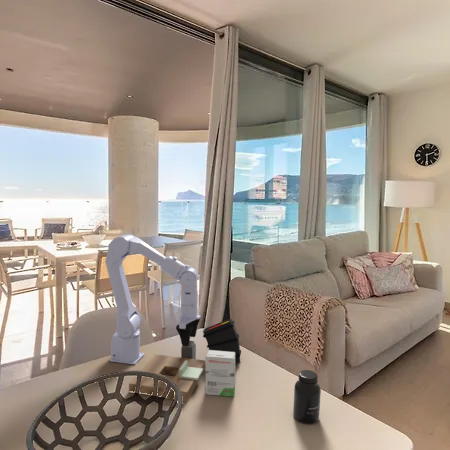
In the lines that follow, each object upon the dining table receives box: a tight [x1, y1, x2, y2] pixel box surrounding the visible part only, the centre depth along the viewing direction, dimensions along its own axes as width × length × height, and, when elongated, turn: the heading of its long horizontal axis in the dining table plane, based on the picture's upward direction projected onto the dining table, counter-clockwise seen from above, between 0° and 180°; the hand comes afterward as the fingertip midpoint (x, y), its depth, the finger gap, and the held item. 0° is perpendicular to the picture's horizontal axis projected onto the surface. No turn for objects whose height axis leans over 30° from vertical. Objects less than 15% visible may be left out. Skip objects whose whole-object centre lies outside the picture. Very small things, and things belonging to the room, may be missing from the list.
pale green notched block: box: [179, 360, 203, 380], centre depth 108 cm, size 6×6×3 cm
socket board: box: [128, 353, 206, 403], centre depth 110 cm, size 18×19×3 cm
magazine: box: [202, 318, 242, 364], centre depth 123 cm, size 4×13×15 cm, turn 81°
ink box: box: [205, 349, 236, 398], centre depth 104 cm, size 9×5×12 cm, turn 82°
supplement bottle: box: [292, 369, 322, 425], centre depth 93 cm, size 7×7×12 cm
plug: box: [180, 340, 197, 359], centre depth 122 cm, size 4×4×7 cm
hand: (188, 341), depth 122 cm, fingers open, 7 cm apart
